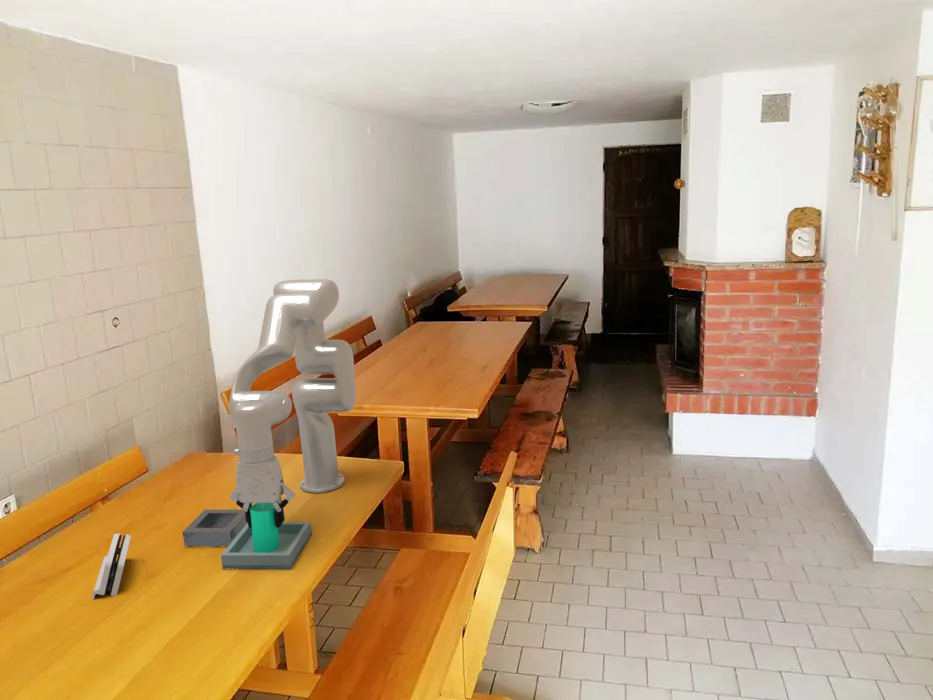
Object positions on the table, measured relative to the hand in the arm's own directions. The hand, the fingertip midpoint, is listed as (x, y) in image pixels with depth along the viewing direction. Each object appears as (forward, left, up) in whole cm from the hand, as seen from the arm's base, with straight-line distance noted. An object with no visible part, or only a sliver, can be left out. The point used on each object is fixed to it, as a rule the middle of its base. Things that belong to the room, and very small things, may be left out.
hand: (266, 524), depth 168 cm
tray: (0, 0, -7) cm, 7 cm away
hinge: (+12, -32, -7) cm, 35 cm away
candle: (0, -1, -6) cm, 6 cm away
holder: (-8, -16, -7) cm, 19 cm away
